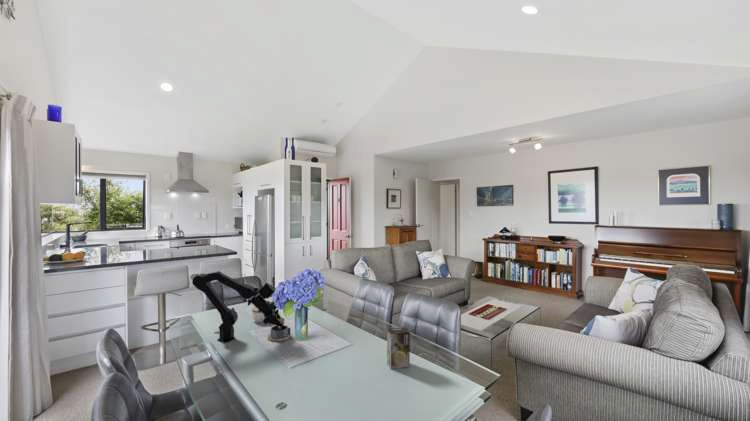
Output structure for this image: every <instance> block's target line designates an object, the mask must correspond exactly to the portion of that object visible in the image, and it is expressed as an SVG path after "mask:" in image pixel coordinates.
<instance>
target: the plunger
mask: <svg viewBox="0 0 750 421" xmlns="http://www.w3.org/2000/svg"><path fill="white" fill-rule="evenodd" d="M278 320H279V321H280V322H281V324H282V325H285V318H284V317H281V318H278ZM280 329H281V327H280V326H279V331H280Z"/></svg>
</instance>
